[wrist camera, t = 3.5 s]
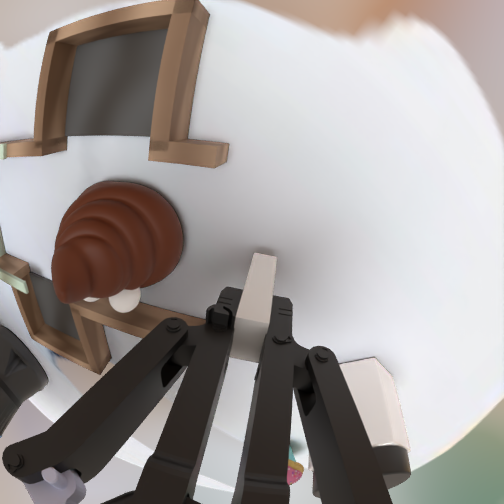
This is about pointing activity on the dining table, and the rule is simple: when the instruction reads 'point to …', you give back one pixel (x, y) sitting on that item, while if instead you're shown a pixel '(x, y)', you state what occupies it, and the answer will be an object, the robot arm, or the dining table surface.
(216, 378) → the robot arm
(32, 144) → the box
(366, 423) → the jar
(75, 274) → the poop emoji
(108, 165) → the dining table surface
